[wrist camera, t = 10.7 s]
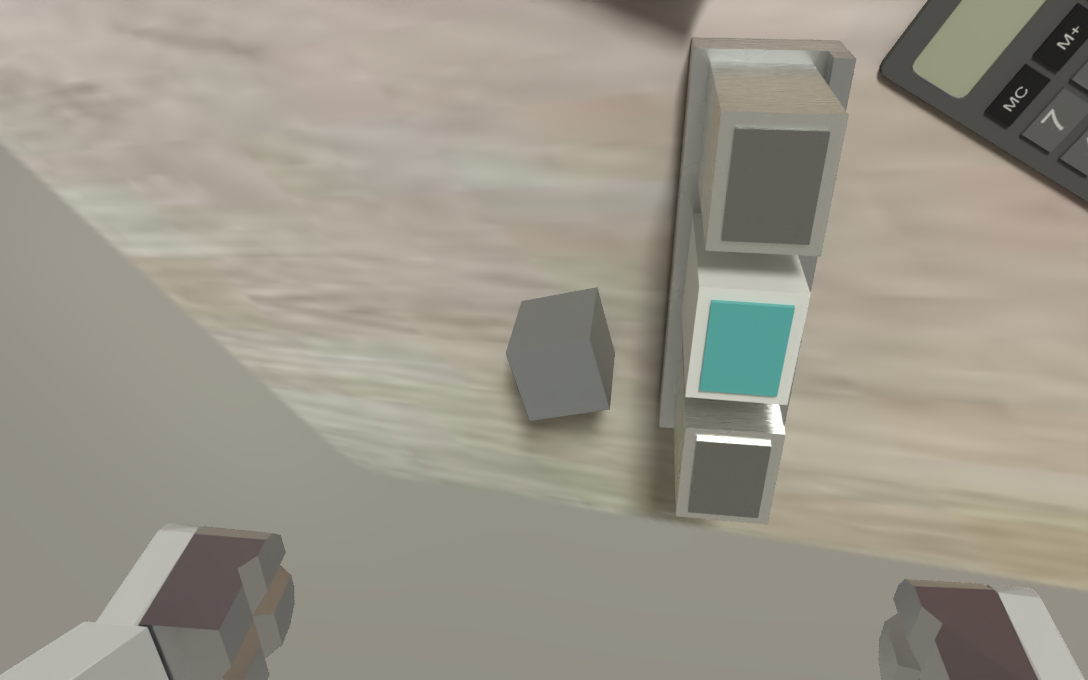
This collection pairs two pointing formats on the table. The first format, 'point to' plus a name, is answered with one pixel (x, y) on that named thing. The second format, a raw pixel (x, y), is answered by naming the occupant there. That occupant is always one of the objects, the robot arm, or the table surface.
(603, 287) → the table surface
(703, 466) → the rail
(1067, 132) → the calculator
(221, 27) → the table surface
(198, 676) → the robot arm
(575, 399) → the block
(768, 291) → the block
